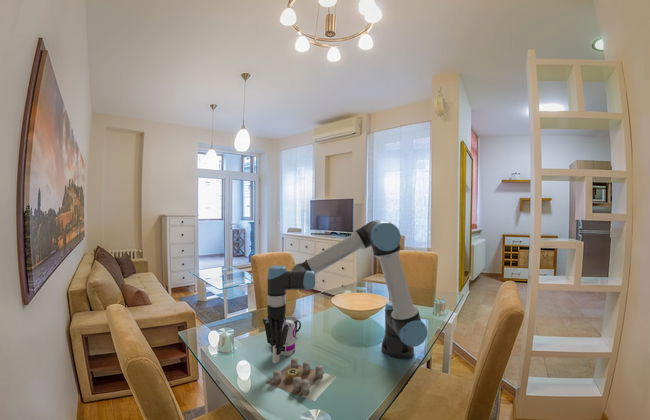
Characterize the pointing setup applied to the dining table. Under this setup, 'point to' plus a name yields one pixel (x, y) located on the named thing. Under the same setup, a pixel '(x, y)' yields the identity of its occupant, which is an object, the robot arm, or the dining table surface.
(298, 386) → the board
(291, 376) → the brass nut
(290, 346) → the supplement can
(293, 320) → the mug
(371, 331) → the dining table surface
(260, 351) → the dining table surface
